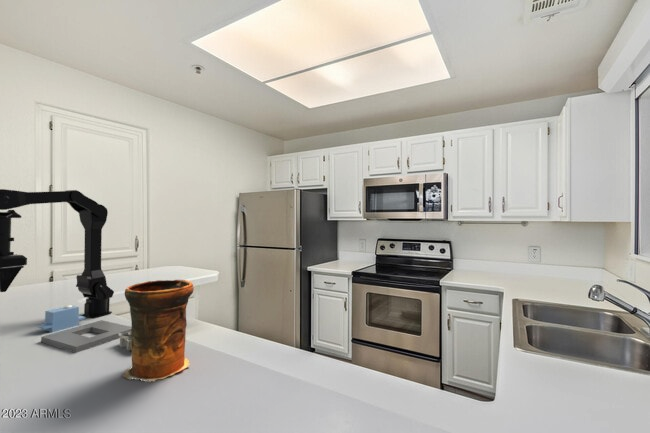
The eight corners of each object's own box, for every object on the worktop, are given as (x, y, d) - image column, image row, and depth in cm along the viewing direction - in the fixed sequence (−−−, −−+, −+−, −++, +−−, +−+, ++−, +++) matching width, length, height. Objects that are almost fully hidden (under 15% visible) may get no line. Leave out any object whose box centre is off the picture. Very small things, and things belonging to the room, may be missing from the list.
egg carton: (163, 346, 86) (164, 331, 86) (134, 356, 79) (135, 340, 79) (144, 337, 91) (144, 323, 91) (115, 345, 85) (116, 331, 85)
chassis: (101, 324, 101) (101, 320, 101) (134, 332, 95) (135, 327, 95) (41, 342, 86) (41, 336, 86) (76, 352, 80) (76, 346, 80)
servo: (36, 332, 93) (37, 310, 93) (77, 321, 103) (78, 302, 103) (44, 334, 91) (45, 312, 91) (84, 323, 102) (85, 303, 102)
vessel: (155, 390, 63) (157, 292, 64) (107, 378, 68) (109, 287, 69) (205, 361, 77) (206, 281, 77) (162, 353, 82) (163, 277, 82)
